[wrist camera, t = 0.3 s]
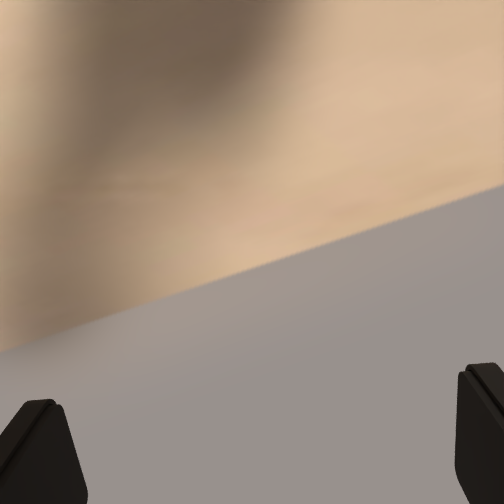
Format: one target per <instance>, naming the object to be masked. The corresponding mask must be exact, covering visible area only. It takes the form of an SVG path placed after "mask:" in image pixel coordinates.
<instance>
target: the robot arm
mask: <svg viewBox="0 0 504 504" xmlns="http://www.w3.org/2000/svg"><path fill="white" fill-rule="evenodd" d="M455 471H456V475H457V478H458V481H459V483H460V485H461V487H462V489H463V491H464V493H465V495H466V497H467V499H468V501H469V503H470V504H504V372H503V371H502V370H501V369H500V367H499V366H498V365H497V364H496V363H480V364H469V365H467V367H466V370H465V371H463V372H459V375H458V393H457V419H456V442H455ZM87 498H88V491H87V487H86V483H85V480H84V477H83V473H82V470H81V467H80V463H79V460H78V457H77V453H76V450H75V447H74V443H73V440H72V436H71V433H70V430H69V426H68V423H67V420H66V416H65V413H64V410H63V408H62V406H61V405H59V404H58V405H56V402H55V401H54V400H52V399H44V400H31V401H27V402H25V403H24V404H23V406H22V407H21V408H20V410H19V411H18V412H17V413H16V415H15V416H14V417H13V419H12V420H11V421H10V423H9V424H8V425H7V427H6V428H5V429H4V431H3V432H2V434H1V435H0V504H87V500H88V499H87Z"/></svg>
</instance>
